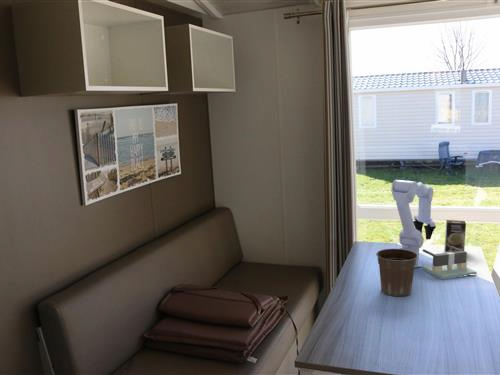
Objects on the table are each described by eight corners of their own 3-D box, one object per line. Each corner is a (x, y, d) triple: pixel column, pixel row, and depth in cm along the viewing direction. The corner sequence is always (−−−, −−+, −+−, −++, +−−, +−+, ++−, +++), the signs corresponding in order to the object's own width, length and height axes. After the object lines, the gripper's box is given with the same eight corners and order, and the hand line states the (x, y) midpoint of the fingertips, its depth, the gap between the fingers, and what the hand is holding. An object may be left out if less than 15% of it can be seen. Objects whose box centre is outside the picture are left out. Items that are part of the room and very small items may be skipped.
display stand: (441, 279, 227) (442, 271, 226) (422, 269, 240) (423, 261, 239) (476, 274, 232) (476, 266, 231) (455, 265, 245) (456, 257, 244)
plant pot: (371, 295, 212) (371, 257, 209) (380, 282, 226) (381, 246, 223) (411, 301, 204) (413, 262, 201) (419, 287, 218) (420, 251, 215)
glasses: (435, 266, 232) (436, 255, 231) (422, 259, 242) (422, 249, 241) (466, 262, 236) (466, 252, 235) (451, 255, 246) (452, 245, 245)
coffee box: (445, 253, 262) (446, 222, 259) (444, 249, 268) (445, 219, 266) (464, 254, 260) (466, 223, 257) (463, 250, 266) (464, 220, 263)
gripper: (440, 212, 247) (439, 240, 249) (422, 206, 260) (422, 232, 263) (428, 214, 245) (427, 241, 248) (410, 207, 259) (409, 233, 261)
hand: (423, 237), depth 255 cm, fingers open, 7 cm apart
